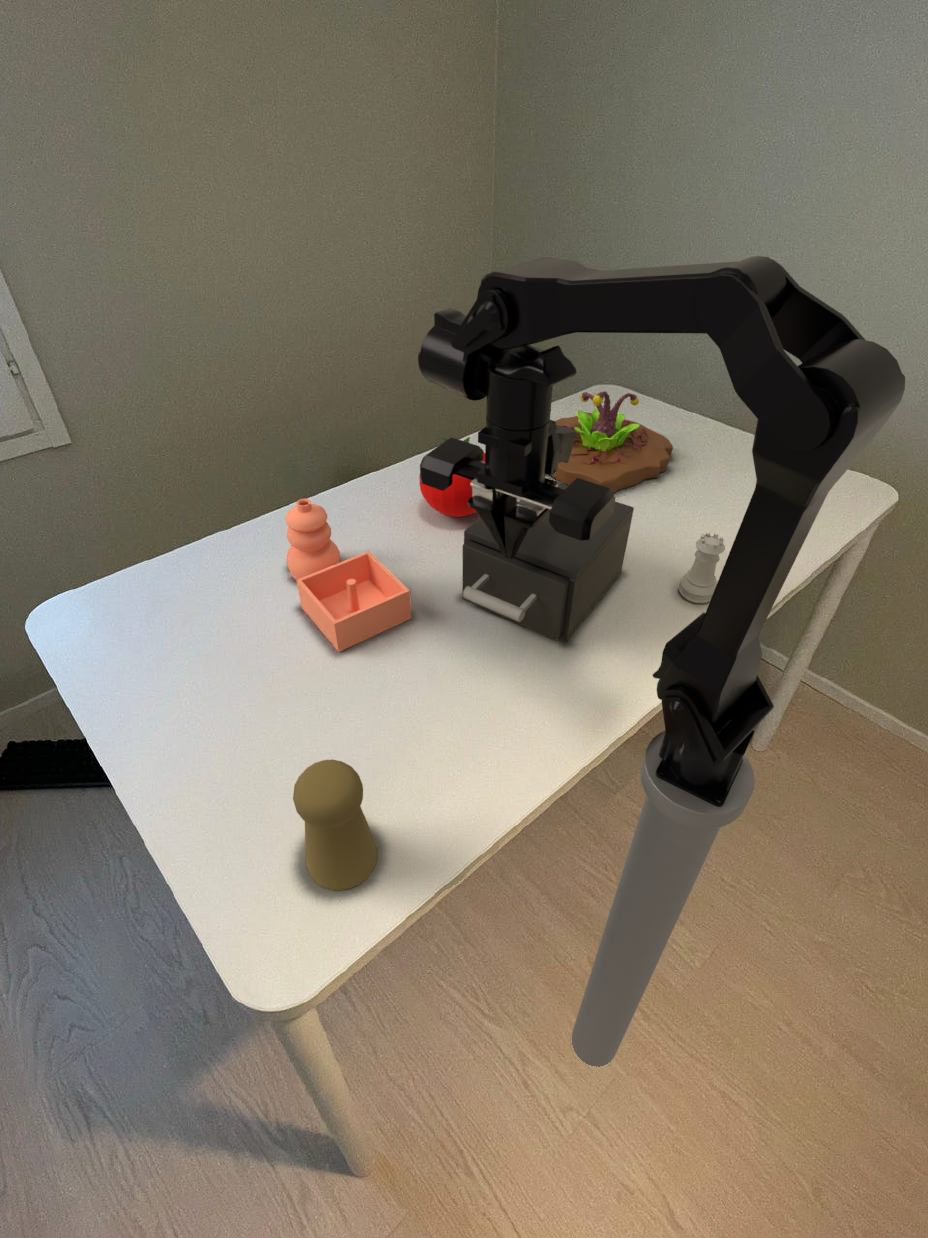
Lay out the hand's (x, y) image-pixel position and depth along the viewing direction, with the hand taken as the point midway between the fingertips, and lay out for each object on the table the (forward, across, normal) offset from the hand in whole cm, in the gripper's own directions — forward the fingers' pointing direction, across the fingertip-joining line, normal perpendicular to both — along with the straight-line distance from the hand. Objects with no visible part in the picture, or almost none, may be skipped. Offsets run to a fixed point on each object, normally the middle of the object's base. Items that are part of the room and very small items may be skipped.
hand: (510, 556), depth 73 cm
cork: (+11, -3, +32) cm, 34 cm away
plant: (+10, +8, -41) cm, 43 cm away
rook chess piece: (+11, -16, -18) cm, 26 cm away
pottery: (+10, +20, +6) cm, 23 cm away
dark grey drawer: (+9, 0, -5) cm, 11 cm away
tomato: (+10, +18, -17) cm, 27 cm away
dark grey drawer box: (+10, 0, -9) cm, 14 cm away
